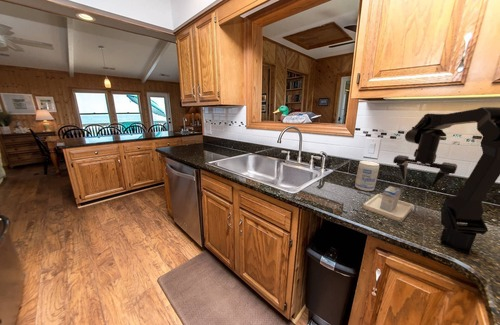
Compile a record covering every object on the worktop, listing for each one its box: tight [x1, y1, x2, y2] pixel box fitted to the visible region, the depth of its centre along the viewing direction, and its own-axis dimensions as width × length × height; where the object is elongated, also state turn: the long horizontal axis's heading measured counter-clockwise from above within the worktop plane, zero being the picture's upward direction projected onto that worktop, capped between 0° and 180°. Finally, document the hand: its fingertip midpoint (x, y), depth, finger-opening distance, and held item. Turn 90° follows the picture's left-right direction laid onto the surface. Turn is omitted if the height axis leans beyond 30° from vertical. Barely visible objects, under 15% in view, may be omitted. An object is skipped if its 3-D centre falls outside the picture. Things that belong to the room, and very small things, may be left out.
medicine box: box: [380, 185, 402, 212], centre depth 84 cm, size 8×4×9 cm, turn 130°
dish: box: [362, 193, 414, 223], centre depth 85 cm, size 14×18×2 cm
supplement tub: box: [354, 160, 380, 192], centre depth 106 cm, size 10×10×15 cm
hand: (417, 183), depth 80 cm, fingers open, 9 cm apart
